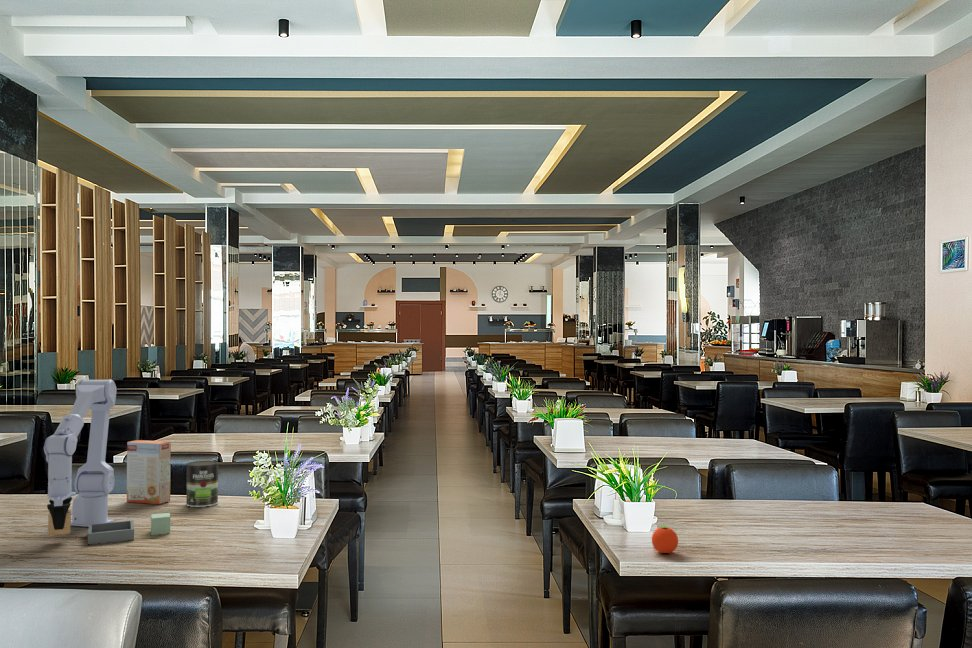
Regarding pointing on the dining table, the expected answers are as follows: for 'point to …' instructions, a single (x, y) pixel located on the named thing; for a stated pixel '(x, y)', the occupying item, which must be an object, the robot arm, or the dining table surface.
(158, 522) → the light box
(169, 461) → the cracker box
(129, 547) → the dining table surface
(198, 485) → the coffee can
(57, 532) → the brown box
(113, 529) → the tote
